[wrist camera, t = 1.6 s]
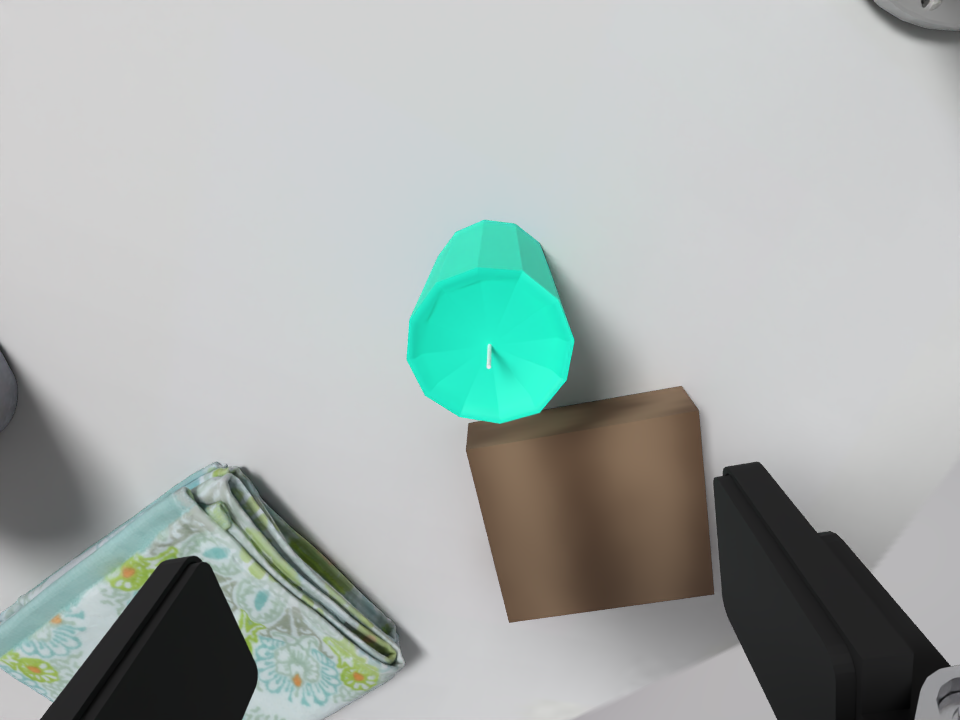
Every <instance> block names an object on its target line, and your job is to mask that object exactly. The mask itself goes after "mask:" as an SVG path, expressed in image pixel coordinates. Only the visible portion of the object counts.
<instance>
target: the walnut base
mask: <svg viewBox="0 0 960 720" xmlns="http://www.w3.org/2000/svg"><path fill="white" fill-rule="evenodd" d="M466 452H467V456H468V460H469V464H470V468H471V472H472V476H473V480H474V484H475V488H476V492H477V496H478V500H479V504H480V508H481V512H482V516H483V520H484V524H485V528H486V532H487V536H488V540H489V544H490V548H491V552H492V556H493V560H494V564H495V568H496V572H497V576H498V580H499V584H500V588H501V592H502V596H503V600H504V604H505V608H506V612H507V616H508V620H509V623H510V622H517V621H525V620H532V619H539V618H546V617H554V616H561V615H568V614H575V613H583V612H590V611H597V610H604V609H612V608H619V607H626V606H633V605H640V604H648V603H655V602H662V601H669V600H677V599H684V598H691V597H698V596H706V595H713V594H714V585H713V573H712V561H711V549H710V537H709V525H708V514H707V502H706V490H705V478H704V466H703V454H702V442H701V431H700V419H699V410H698V409H697V407H696V406H695V404H694V403H693V402H692V400H691V399H690V397H689V396H688V394H687V393H686V392H685V390H684V389H683V387H682V386H679V387H673V388H668V389H662V390H656V391H650V392H645V393H639V394H633V395H627V396H622V397H616V398H610V399H605V400H599V401H593V402H587V403H582V404H576V405H570V406H564V407H559V408H553V409H547V410H542V411H541V412H540V413H537V414H534V415H530V416H527V417H523V418H519V419H516V420H512V421H509V422H505V423H501V424H499V423H493V422H487V421H478V422H473V423H469V424H468V434H467V445H466Z"/></svg>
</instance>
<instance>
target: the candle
mask: <svg viewBox="0 0 960 720" xmlns="http://www.w3.org/2000/svg"><path fill="white" fill-rule="evenodd" d="M574 341H575V340H574V337H573V334H572V332H571V329H570V326H569V323H568V320H567V317H566V314H565V311H564V309H563V306H562V303H561V300H560V297H559V294H558V291H557V289H556V286H555V283H554V280H553V277H552V274H551V271H550V269H549V266H548V264H547V261H546V258H545V256H544V253H543V251H542V248H541V246H540V243H539V242H538V241H537V240H535V239H534V238H533V237H532V236H530V235H529V234H528V233H526V232H525V231H524V230H523V229H521V228H520V227H519V226H517V225H516V224H513V223H505V222H497V221H490V220H483V221H480V222H478V223H476V224H473V225H471V226H469V227H466V228H464V229H462V230H459V231H457V232H456V233H455V234H454V235H453V237H452V238H451V239H450V241H449V242H448V243H447V245H446V246H445V248H444V249H443V250H442V252H441V253H440V254H439V256H438V258H437V260H436V262H435V264H434V266H433V269H432V271H431V273H430V275H429V278H428V280H427V282H426V284H425V286H424V289H423V291H422V293H421V295H420V297H419V300H418V302H417V304H416V306H415V309H414V311H413V313H412V315H411V317H410V320H409V333H408V347H407V361H408V363H409V365H410V367H411V369H412V371H413V373H414V375H415V377H416V379H417V381H418V383H419V385H420V387H421V389H422V391H423V392H424V394H425V396H427V397H428V398H430V399H431V400H433V401H435V402H436V403H438V404H439V405H441V406H443V407H444V408H446V409H448V410H449V411H451V412H452V413H454V414H456V415H457V416H459V417H463V418H469V419H475V420H481V421H487V422H493V423H499V424H501V423H505V422H509V421H512V420H516V419H519V418H523V417H527V416H530V415H534V414H537V413H540V412H541V411H542V409H543V408H544V407H545V406H546V405H547V403H548V402H549V401H550V400H551V399H552V397H553V396H554V395H555V394H556V393H557V391H558V390H559V389H560V388H561V386H562V385H563V384H564V383H565V382H566V380H567V376H568V371H569V366H570V361H571V356H572V351H573V346H574Z"/></svg>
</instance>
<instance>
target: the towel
mask: <svg viewBox="0 0 960 720" xmlns="http://www.w3.org/2000/svg"><path fill="white" fill-rule="evenodd" d="M187 556H198V557H199V558H200V559H201V560H202V561H203V562H207V563H208V564H210V566H211V568H212V570H213V572H214V574H215V576H216V578H217V580H218V583H219V585H220V587H221V589H222V591H223V593H224V596H225V598H226V600H227V602H228V604H229V606H230V609H231V611H232V613H233V615H234V617H235V619H236V622H237V624H238V626H239V628H240V630H241V632H242V635H243V637H244V639H245V641H246V643H247V645H248V648H249V650H250V652H251V654H252V656H253V658H254V661H255V663H256V665H257V669H258V680H257V685H256V688H255V691H254V693H253V695H252V698H251V700H250V702H249V705H248V707H247V710H246V712H245V714H244V717H243V719H242V720H323V719H325V718H326V717H328V716H330V715H331V714H333V713H335V712H337V711H338V710H340V709H341V708H343V707H345V706H346V705H348V704H350V703H352V702H354V701H356V700H357V699H359V698H360V697H362V696H364V695H365V694H367V693H368V692H370V691H372V690H374V689H376V688H377V687H379V686H381V685H383V684H384V683H386V682H387V681H388V680H390V679H392V678H393V677H394V675H395V673H397V672H398V671H400V670H401V669H402V668H403V667H404V666H405V661H404V659H403V657H402V653H401V649H400V644H399V635H398V634H397V633H396V625H395V624H394V622H393V621H392V620H391V619H389V618H387V617H386V616H385V615H384V614H383V612H382V611H381V610H379V609H378V608H377V607H376V606H375V605H374V604H373V603H372V602H371V601H369V600H368V599H367V598H366V597H365V596H364V595H363V594H362V593H361V592H360V591H359V590H358V589H357V588H356V587H355V586H354V585H353V584H352V583H351V582H350V581H349V580H348V579H347V578H346V577H345V576H344V575H343V574H342V573H341V572H340V571H339V570H338V569H337V568H336V567H334V566H333V565H332V564H331V563H330V562H329V561H328V560H327V559H326V558H325V557H324V556H323V555H322V554H321V553H320V552H319V551H318V550H317V549H316V548H315V547H314V546H312V545H311V544H310V543H309V542H308V541H307V540H306V539H305V538H303V537H302V536H301V535H299V534H298V533H297V532H296V531H295V530H293V529H292V528H291V527H290V526H289V525H288V524H287V523H286V522H285V521H284V520H283V519H282V518H281V517H280V516H279V515H278V514H277V513H276V512H275V511H274V510H272V509H271V508H270V507H269V506H268V505H267V504H266V503H265V502H264V501H263V500H262V498H261V497H260V496H259V492H258V491H257V490H256V489H255V487H254V485H253V484H252V482H251V481H250V480H249V478H248V477H247V476H246V475H244V474H243V473H242V472H241V470H240V469H239V467H236V466H235V467H228V468H227V464H223V465H220V464H219V463H217V462H214V463H212V464H210V465H208V466H207V467H205V468H203V469H201V470H199V471H197V472H196V473H194V474H192V475H191V476H189V477H188V478H186V479H185V480H183V481H182V482H180V483H179V484H177V485H175V486H174V487H173V488H171V489H170V490H169V491H167V492H166V493H165V494H163V495H162V496H161V497H159V498H158V499H157V500H156V501H154V502H153V503H151V504H150V505H148V506H147V507H146V508H144V509H143V510H141V511H140V512H139V513H138V514H136V515H135V516H134V517H132V518H131V519H129V520H128V521H126V522H125V523H123V524H122V525H120V526H119V527H117V528H116V529H115V530H113V531H112V532H111V533H109V534H108V535H106V536H105V537H104V538H102V539H101V540H99V541H98V542H96V543H95V544H93V545H92V546H90V547H89V548H88V549H86V550H85V551H84V552H82V553H81V554H80V555H79V556H77V557H76V558H74V559H73V560H72V561H70V562H69V563H67V564H66V565H64V566H63V567H62V568H60V569H59V570H57V571H56V572H55V573H53V574H52V575H51V576H49V577H48V578H46V579H45V580H44V581H43V582H41V583H40V584H39V585H37V586H36V587H35V588H33V589H32V590H30V591H29V592H28V593H26V594H24V595H22V596H20V597H19V598H18V600H17V601H16V602H15V603H14V604H13V605H12V606H10V607H8V608H7V609H6V610H5V611H3V612H2V613H1V614H0V668H1V669H2V670H4V671H5V672H7V673H8V674H9V675H11V676H12V677H14V678H15V679H17V680H18V681H20V682H22V683H23V684H25V685H27V686H28V687H30V688H31V689H33V690H34V691H36V692H38V693H39V694H41V695H42V696H44V697H46V698H47V699H48V700H50V701H52V702H54V701H55V700H56V698H57V697H58V696H59V694H60V693H61V692H62V690H63V689H64V688H65V686H66V685H67V684H68V683H69V681H70V680H71V679H72V677H73V676H74V675H75V673H76V672H77V671H78V669H79V668H80V667H81V666H82V664H83V663H84V662H85V660H86V659H87V658H88V656H89V655H90V654H91V653H92V651H93V650H94V649H95V647H96V646H97V645H98V643H99V642H100V641H101V639H102V638H103V637H104V636H105V634H106V633H107V632H108V630H109V629H110V628H111V626H112V625H113V624H114V622H115V621H116V620H117V619H118V617H119V616H120V615H121V613H122V612H123V611H124V609H125V608H126V607H127V605H128V604H129V603H130V602H131V600H132V599H133V598H134V596H135V595H136V594H137V592H138V591H139V590H140V589H141V587H142V586H143V585H144V583H145V582H146V581H147V579H148V578H149V577H150V575H151V574H152V573H153V572H154V570H155V569H156V568H157V566H158V565H159V564H160V563H161V562H163V561H165V560H169V559H175V558H181V557H187Z"/></svg>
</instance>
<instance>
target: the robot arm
mask: <svg viewBox="0 0 960 720" xmlns="http://www.w3.org/2000/svg"><path fill="white" fill-rule="evenodd" d="M873 1H874V2H875V3H876V4H877V5H878V6H879V7H881V8H882V9H884V10H886V11H887V12H889V13H890V14H892V15H894V16H895V17H897V18H898V19H900V20H902V21H905V22H908V23H911V24H914V25H917V26H920V27H923V28H926V29H938V30H950V31H957V30H960V0H923V4H921V0H873ZM713 486H714V498H715V511H716V523H717V536H718V548H719V560H720V573H721V585H722V597H723V602H724V607H725V610H726V613H727V616H728V618H729V621H730V623H731V625H732V627H733V629H734V631H735V633H736V635H737V637H738V639H739V641H740V643H741V645H742V648H743V649H744V652H745V654H746V656H747V658H748V660H749V662H750V664H751V666H752V668H753V670H754V672H755V674H756V676H757V678H758V681H759V683H760V684H761V687H762V689H763V691H764V693H765V695H766V697H767V699H768V701H769V703H770V705H771V707H772V709H773V711H774V714H775V716H776V718H777V720H960V665H956V666H950V665H949V663H948V662H946V660H945V659H944V658H943V656H942V655H941V654H940V653H939V652H938V651H937V650H936V648H935V647H934V646H933V645H932V644H931V642H930V641H929V640H928V639H927V638H926V637H925V635H924V634H923V633H922V632H921V631H920V630H919V629H918V627H917V626H916V625H915V624H914V623H913V621H912V620H911V619H910V618H909V617H908V616H907V614H906V613H905V612H904V611H903V610H902V609H901V607H900V606H899V605H898V604H897V603H896V602H895V601H894V599H893V598H892V597H891V596H890V595H889V593H888V592H887V591H886V590H885V589H884V588H883V587H882V585H881V584H880V583H879V582H878V581H877V579H876V578H875V577H874V576H873V575H872V574H871V572H870V571H869V570H868V569H867V568H866V566H865V565H864V564H863V563H862V562H861V561H860V559H859V558H858V557H857V556H856V555H855V554H854V552H853V551H852V550H851V549H850V548H849V547H848V545H847V544H846V543H845V542H844V541H843V540H842V539H841V538H840V537H839V536H838V535H837V534H836V533H833V532H831V531H828V532H822V533H817V532H816V531H815V530H814V528H813V527H812V526H811V525H810V524H809V522H808V521H807V520H806V519H805V517H804V516H803V515H802V514H801V512H800V511H799V510H798V509H797V507H796V506H795V505H794V504H793V502H792V501H791V500H790V499H789V497H788V496H787V495H786V494H785V493H784V491H783V490H782V489H781V488H780V486H779V485H778V484H777V483H776V481H775V480H774V479H773V478H772V476H771V475H770V474H769V473H768V471H767V470H766V469H765V468H764V467H763V465H762V464H761V463H759V462H752V463H746V464H740V465H734V466H728V467H725V468H724V469H723V476H720V477H715V478H714V481H713ZM257 680H258V669H257V665H256V663H255V661H254V658H253V656H252V654H251V652H250V650H249V648H248V645H247V643H246V641H245V639H244V637H243V635H242V632H241V630H240V628H239V626H238V624H237V622H236V619H235V617H234V615H233V613H232V611H231V609H230V606H229V604H228V602H227V600H226V598H225V596H224V593H223V591H222V589H221V587H220V585H219V583H218V580H217V578H216V576H215V574H214V572H213V570H212V568H211V566H210V564H208V563H207V562H203V561H202V560H201V559H200V558H199V557H198V556H187V557H181V558H175V559H169V560H165V561H163V562H161V563H160V564H159V565H158V566H157V568H156V569H155V570H154V572H153V573H152V574H151V575H150V577H149V578H148V579H147V581H146V582H145V583H144V585H143V586H142V587H141V589H140V590H139V591H138V592H137V594H136V595H135V596H134V598H133V599H132V600H131V602H130V603H129V604H128V605H127V607H126V608H125V609H124V611H123V612H122V613H121V615H120V616H119V617H118V619H117V620H116V621H115V622H114V624H113V625H112V626H111V628H110V629H109V630H108V632H107V633H106V634H105V636H104V637H103V638H102V639H101V641H100V642H99V643H98V645H97V646H96V647H95V649H94V650H93V651H92V653H91V654H90V655H89V656H88V658H87V659H86V660H85V662H84V663H83V664H82V666H81V667H80V668H79V669H78V671H77V672H76V673H75V675H74V676H73V677H72V679H71V680H70V681H69V683H68V684H67V685H66V686H65V688H64V689H63V690H62V692H61V693H60V694H59V696H58V697H57V698H56V700H55V701H54V702H53V703H52V705H51V706H50V707H49V709H48V710H47V711H46V713H45V714H44V715H43V717H42V718H41V719H40V720H242V719H243V717H244V714H245V712H246V710H247V707H248V705H249V702H250V700H251V698H252V695H253V693H254V691H255V688H256V685H257Z"/></svg>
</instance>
